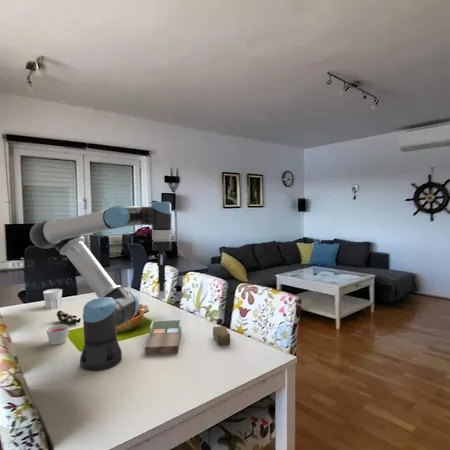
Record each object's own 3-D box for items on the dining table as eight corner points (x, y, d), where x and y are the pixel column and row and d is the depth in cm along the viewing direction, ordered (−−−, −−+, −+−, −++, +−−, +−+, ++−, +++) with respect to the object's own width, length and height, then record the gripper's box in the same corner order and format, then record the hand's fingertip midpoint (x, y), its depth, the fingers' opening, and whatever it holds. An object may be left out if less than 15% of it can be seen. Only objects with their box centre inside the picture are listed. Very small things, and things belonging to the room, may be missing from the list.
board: (145, 354, 131) (145, 347, 131) (150, 340, 145) (150, 333, 145) (178, 353, 132) (177, 345, 132) (180, 339, 146) (179, 332, 146)
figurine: (70, 321, 162) (51, 311, 168) (69, 332, 162) (50, 322, 169) (84, 316, 168) (65, 307, 175) (82, 327, 169) (64, 317, 176)
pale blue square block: (166, 337, 146) (166, 332, 146) (167, 333, 151) (167, 328, 151) (178, 337, 146) (177, 332, 146) (178, 333, 151) (178, 328, 151)
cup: (51, 304, 202) (50, 288, 202) (66, 305, 201) (65, 289, 200) (40, 309, 192) (39, 292, 192) (55, 310, 191) (55, 293, 190)
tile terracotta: (152, 338, 146) (152, 333, 145) (154, 334, 151) (154, 329, 150) (164, 338, 146) (164, 332, 146) (165, 333, 151) (165, 328, 151)
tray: (150, 340, 145) (149, 327, 145) (152, 332, 154) (152, 320, 154) (180, 338, 147) (180, 326, 146) (181, 331, 156) (181, 319, 155)
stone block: (217, 346, 138) (217, 335, 138) (212, 336, 149) (212, 325, 149) (231, 345, 139) (230, 333, 139) (224, 335, 150) (224, 324, 150)
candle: (43, 342, 145) (43, 328, 144) (64, 336, 151) (64, 323, 151) (51, 348, 138) (50, 333, 138) (73, 341, 145) (72, 327, 145)
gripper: (171, 242, 125) (171, 302, 126) (171, 238, 138) (171, 293, 139) (151, 242, 124) (151, 303, 125) (153, 238, 137) (153, 294, 138)
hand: (161, 298), depth 132 cm, fingers closed
